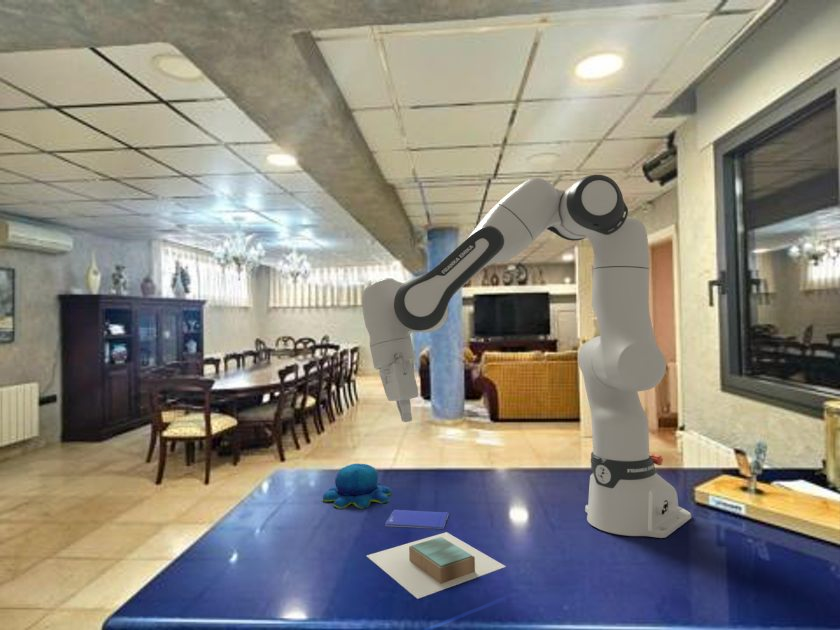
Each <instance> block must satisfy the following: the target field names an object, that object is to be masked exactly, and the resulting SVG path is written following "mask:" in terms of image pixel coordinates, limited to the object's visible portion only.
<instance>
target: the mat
mask: <svg viewBox="0 0 840 630" xmlns="http://www.w3.org/2000/svg"><path fill="white" fill-rule="evenodd" d="M439 537H442V538H444V539H446V540H447V541H449V542H451V543H452V544H454V545H456V546H457V547H459V548H461V549H462V550H464V551H466V552H467V553H469V554H471V555H472V556H474V557H475V572H473V573H470V574H467V575H464V576H461V577H459V578H456V579H453V580H450V581H447V582H445V583H442V584H441V583H439V582H438V581H437V580H435V579H434V578H432V577H431V576H430V575H428V574H427V573H426V572H424V571H423V570H422V569H420V568H419V567H418V566H416V565H415V564H413V563H412V562H411V561H410V560H409V546H412V545H415V544H418V543H422V542H425V541H429V540H432V539H435V538H439ZM366 557H367V558H368V559H369V560H371V562H372V563H374V564H375V565H377V567H379V568H380V569H381V570H382V571H384V573H386V574H387V575H388V576H389V577H391V579H393V581H394V580H395V581H396V582H397V583H398V584H399V585H400V586H402V588H404V589H405V590H406V591H407V592H409V594H411V595H412V596H413V597H414V598H416V599H417V600H418V599H422V598H424V597H427V596H430V595H432V594H436V593H437V592H440V591H444V590H445V589H448V588H451V587H455V586H456V585H457V586H458V585H460V584H462V583H466V582H469V581H471V580H474V579H477V578H479V577H482V576H485V575H487V574H490V573H494V572H495V571H499V570H501V569H504V568H506V567H507V566H506V565H504V564H503V563H501V562H499V561H498V560H496V559H494V558H492V557H490V556H489V555H487V554H485V553H484V552H482V551H480V550H479V549H476V548H475V547H473V546H471V545H470V544H468V543H466V542H464V541H463V540H461V539H459V538H457V537H456V536H453V535H452V534H451V533H449V532H447V531H446V532H442V533H438V534H436V535H432V536H428V537H425V538H422V539H418V540H415V541H412V542H411V541H410V542H408V543H405V544H401V545H397V546H395V547H391V548H388V549H384V550H380V551H377V552H374V553H371V554H367V555H366Z"/></svg>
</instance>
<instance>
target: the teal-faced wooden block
mask: <svg viewBox="0 0 840 630" xmlns="http://www.w3.org/2000/svg"><path fill="white" fill-rule="evenodd" d="M409 560H410V561H411V562H412V563H413V564H415V565H416V566H418V567H419V568H420V569H422V570H423V571H424V572H426V573H427V574H428V575H430V576H431V577H432V578H434V579H435V580H437V581H438V582H439V583H441V584H442V583H445V582H447V581H450V580H453V579H456V578H459V577H461V576H464V575H467V574H470V573H473V572H475V557H474V556H472V555H471V554H469V553H467V552H466V551H464V550H462V549H461V548H459V547H457V546H456V545H454V544H452V543H451V542H449V541H447V540H446V539H444V538H442V537H439V538H435V539H432V540H429V541H425V542H422V543H418V544H415V545H412V546H409Z"/></svg>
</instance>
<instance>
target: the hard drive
mask: <svg viewBox="0 0 840 630" xmlns="http://www.w3.org/2000/svg"><path fill="white" fill-rule="evenodd" d="M449 515H450V512H446V511H445V512H441V511H427V510H426V511H422V510H406V509H402V510H401V509H393V511H392V512H391V513H390V516H389V517H388V518H387V519H386V522H385V524H384V526H385V527H396V528H397V527H398V528H399V527H401V528H418V529H436V530H437V529H439V530H444V528H445V526H446V522H447V520H448V517H449Z"/></svg>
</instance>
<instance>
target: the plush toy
mask: <svg viewBox="0 0 840 630" xmlns="http://www.w3.org/2000/svg"><path fill="white" fill-rule="evenodd" d="M378 480H379V474H378V470H377V469H376V468H375V467H374V466H372V465H369V464H366V463H352V464H349V465H346V466H343V467H342V468H340V469H339V470H338V471H337V473H336V476H335V481H334V484H335V485H334V486H332V487H330V488H329V489H328V490H327V491H326V492H324V494H323V495H322V501H323V502H324V503H326V502H333V507H336V508H337V509H339V510H340V509H346V508H347V507H348V506H350V505H351V504H352V505H353V506H356V507H355V508H357V509H359V508H360V509H365V508H364V507H366V508H368V507H369V506H371V505H370V504H371V502H375V503H378V504H384V503H389V501H390V498H389V496H392V489H391V488H390V487H388V486H385V485H381V483H379V481H378Z"/></svg>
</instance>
